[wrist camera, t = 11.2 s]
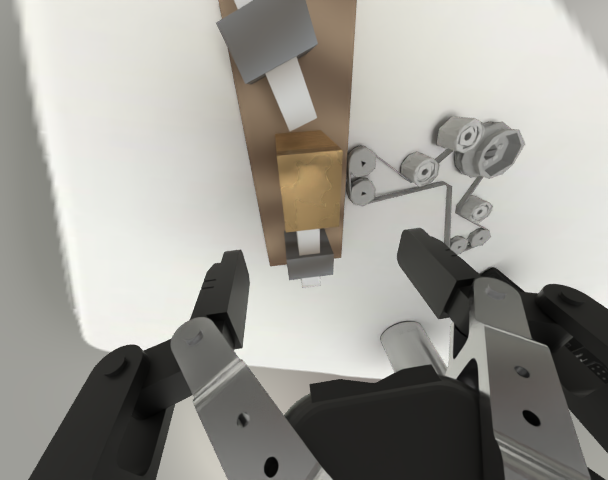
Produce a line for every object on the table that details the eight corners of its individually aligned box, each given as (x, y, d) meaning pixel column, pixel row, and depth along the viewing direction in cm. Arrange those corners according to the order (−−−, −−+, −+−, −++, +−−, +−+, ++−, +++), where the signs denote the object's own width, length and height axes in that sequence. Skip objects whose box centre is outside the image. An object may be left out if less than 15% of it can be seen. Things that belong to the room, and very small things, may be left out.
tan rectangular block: (321, 189, 24) (339, 226, 18) (282, 193, 24) (286, 232, 18) (320, 130, 21) (342, 150, 14) (275, 133, 21) (276, 155, 14)
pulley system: (410, 41, 20) (324, 185, 26) (448, 28, 16) (336, 200, 22) (535, 176, 31) (454, 254, 37) (575, 187, 27) (477, 272, 33)
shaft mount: (338, 251, 32) (352, 286, 26) (270, 259, 31) (270, 297, 26) (352, -32, 16) (395, -95, 11) (215, -28, 16) (183, -93, 10)
